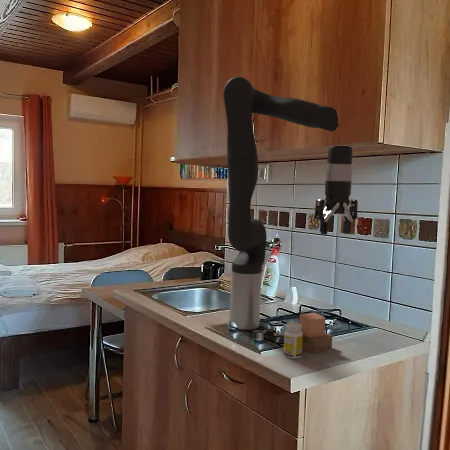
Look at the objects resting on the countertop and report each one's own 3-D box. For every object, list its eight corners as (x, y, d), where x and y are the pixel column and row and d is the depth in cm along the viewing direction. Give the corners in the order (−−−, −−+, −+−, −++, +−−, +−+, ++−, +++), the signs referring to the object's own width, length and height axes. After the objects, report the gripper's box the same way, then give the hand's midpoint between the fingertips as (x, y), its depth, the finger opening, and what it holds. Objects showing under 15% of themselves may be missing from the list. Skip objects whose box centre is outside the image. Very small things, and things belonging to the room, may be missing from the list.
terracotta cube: (298, 331, 130) (299, 314, 130) (313, 329, 132) (314, 312, 132) (308, 337, 126) (310, 319, 125) (324, 335, 128) (325, 318, 127)
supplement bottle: (299, 352, 124) (301, 321, 124) (303, 359, 120) (305, 327, 119) (282, 352, 124) (283, 321, 123) (284, 359, 120) (286, 327, 119)
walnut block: (290, 346, 129) (291, 332, 129) (308, 340, 135) (309, 327, 134) (314, 355, 124) (314, 341, 123) (331, 348, 129) (332, 334, 129)
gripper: (348, 180, 144) (345, 232, 146) (311, 178, 138) (308, 233, 139) (365, 180, 137) (362, 235, 139) (327, 179, 131) (324, 236, 133)
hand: (335, 234), depth 139 cm, fingers open, 8 cm apart
